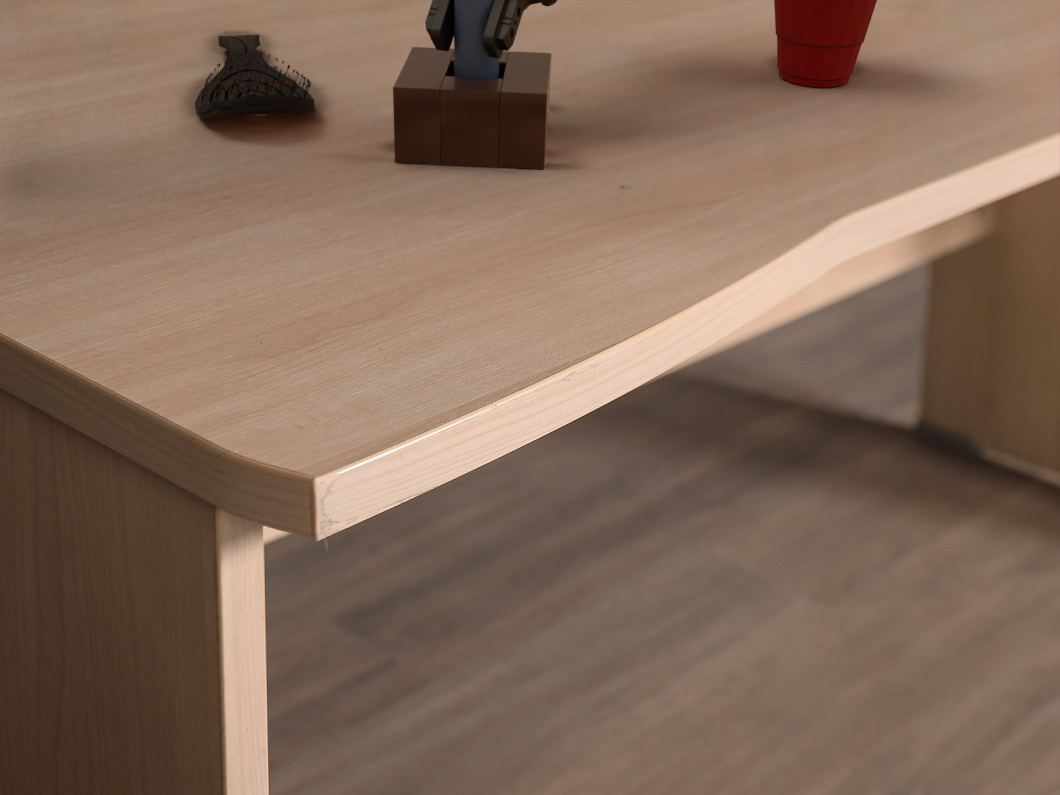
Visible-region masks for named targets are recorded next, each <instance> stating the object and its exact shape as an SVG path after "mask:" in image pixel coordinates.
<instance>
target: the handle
mask: <svg viewBox="0 0 1060 795" xmlns="http://www.w3.org/2000/svg"><path fill="white" fill-rule="evenodd" d="M493 3H494V0H454V37H453V49H454V77H474V78H496V79H499V58H492V57H489V56H488V55H487V52H486V50H485V48H484V46H483V35H484V32H485V28H486V25H487V22H488V19H489V16H490V13H491V9H492V6H493Z"/></svg>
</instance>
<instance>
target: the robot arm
mask: <svg viewBox="0 0 1060 795" xmlns="http://www.w3.org/2000/svg"><path fill="white" fill-rule="evenodd" d="M557 1H558V0H494V3H493V6H492V9H491V13H490V16H489V19H488V22H487V25H486V28H485V32H484V35H483V46H484V48H485V50H486V52H487V55H488V56H489V57H492V58H501V56H502V53H503V51H508V52H509V50H511V48H512V47H513V46H514V43H515V40H516V36H517V33H518V30H519V26H520V24H521V20H522V17H523V14H524V11H526V10H527V9H528V8H529V7H530V6H532V5H535V4H541V5H542V6H543V7H551V6H554V5H555V4H556V3H557ZM424 23H425V30H426V32H427V34H428V35H429V39H430V40H431V42H432V44H433V45H434V48H436V49H437V50H440V51H449V49H451V46H452V43H453V41H454V0H432V1H431V4H430V7H429V10H428V13H427V15H426V18H425V22H424Z"/></svg>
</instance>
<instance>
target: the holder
mask: <svg viewBox="0 0 1060 795" xmlns="http://www.w3.org/2000/svg"><path fill="white" fill-rule="evenodd" d="M551 75H552V53H551V52H536V51H535V52H533V51H532V52H531V51H512V50H510V51H509V50H508V51H505V50H503V53H502V56H501V58H499V79H496V78H474V77H454V48H450V49H449V51H440V50H437V49H436V48H435V47H426V46H425V47H422V46H412V47H411V50H410V51H409V53H408V56H407V58H406V59H405V61H404V64H403V66H402V67H401V70H400V72H399V75H397V78H396V80H395V83H394V85H393V86H392V102H393V105H392V106H393V144H394V145H393V146H394V149H393V150H394V163H398V164H399V163H400V164H401V163H403V164H404V163H405V164H420V165H421V164H422V165H424V164H425V165H443V166H444V165H445V166H465V167H466V166H467V167H485V168H486V167H487V168H488V167H489V168H510V169H532V170H544V169H545V164H546V154H547V153H546V152H547V145H548V144H547V143H548V133H549V122H550V102H551V98H550V97H551V79H552V78H551V77H552V76H551Z"/></svg>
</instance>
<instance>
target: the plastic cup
mask: <svg viewBox="0 0 1060 795" xmlns="http://www.w3.org/2000/svg"><path fill="white" fill-rule="evenodd" d="M773 2H774V26H775V27H774V29H775V35H776V54H777V55H776V57H777V58H776V60H777V62H776V63H777V69H778V76H779V78H781V79H782V80H783V81H786V82H788V83H791V84H795V85H800V86H804V87H813V88H835V87H840V86H844V85H846V84H848V83H849V80H850V78H851V76H852V75H853V73H854V69H855V66H856V63H857V60H858V56H859V53H860V50H861V47H862V44H864V42H865V40H866V36H867V33H868V31H869V30H868V29H869V26H870V23H871V20H872V17H873V14H874V11H875V8H876V4H877V2H878V0H773Z"/></svg>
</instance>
